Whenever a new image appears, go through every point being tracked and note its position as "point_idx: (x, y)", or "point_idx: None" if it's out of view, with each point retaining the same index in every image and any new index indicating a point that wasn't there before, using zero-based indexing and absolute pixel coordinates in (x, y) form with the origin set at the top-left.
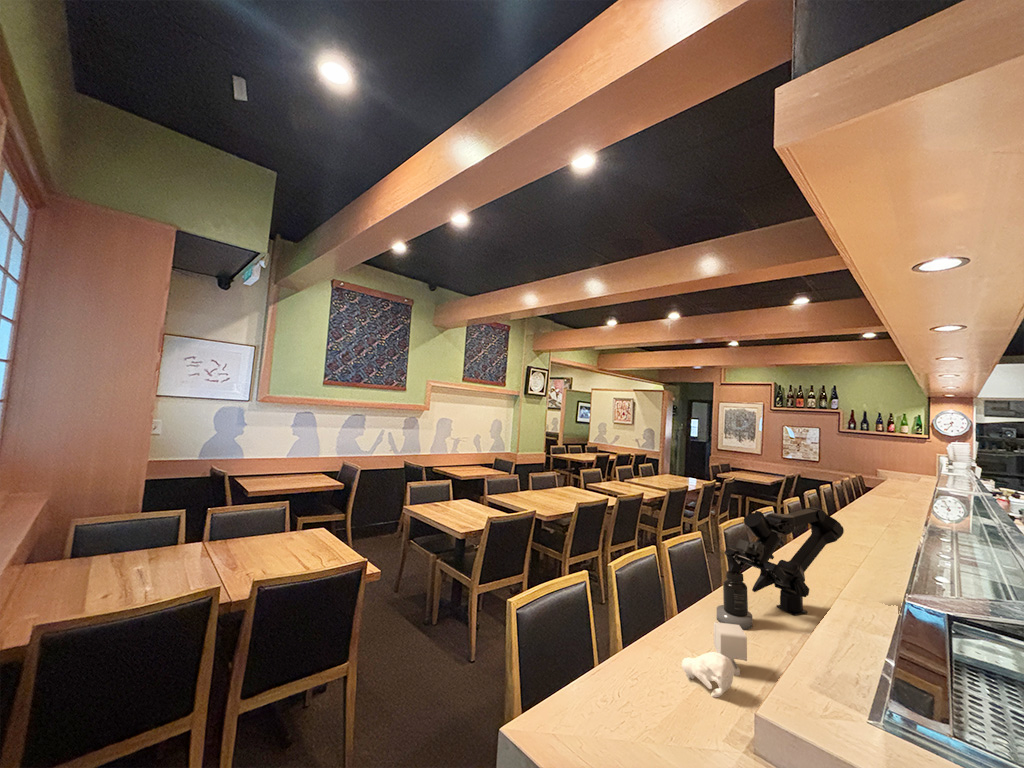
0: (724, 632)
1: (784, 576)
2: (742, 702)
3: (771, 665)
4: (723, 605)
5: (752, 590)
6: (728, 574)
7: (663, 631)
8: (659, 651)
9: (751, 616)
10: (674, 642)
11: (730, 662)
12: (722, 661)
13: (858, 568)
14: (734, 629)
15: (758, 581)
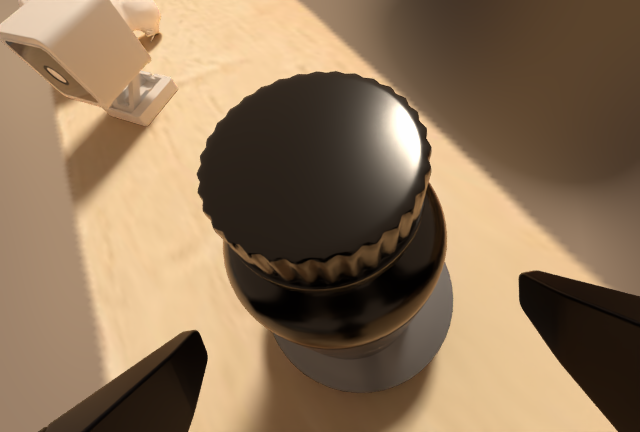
0: None
1: None
2: None
3: (91, 215)
4: (443, 281)
5: (197, 334)
6: (310, 80)
7: (330, 40)
8: (249, 12)
9: (288, 351)
10: (272, 46)
11: (19, 4)
12: None
13: None
14: (30, 15)
15: (72, 415)
